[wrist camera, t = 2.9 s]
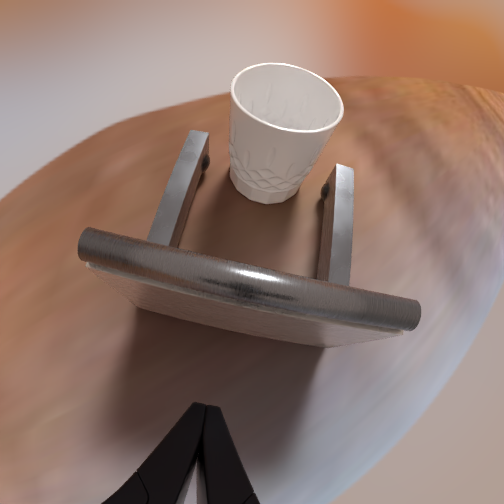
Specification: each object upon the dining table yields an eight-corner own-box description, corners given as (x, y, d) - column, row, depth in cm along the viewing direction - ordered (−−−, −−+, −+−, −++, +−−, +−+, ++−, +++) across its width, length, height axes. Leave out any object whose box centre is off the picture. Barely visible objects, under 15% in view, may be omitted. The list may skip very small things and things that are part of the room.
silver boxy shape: (326, 349, 22) (426, 332, 10) (137, 308, 21) (65, 253, 10) (341, 193, 27) (403, 103, 16) (188, 157, 26) (182, 47, 15)
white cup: (292, 140, 29) (319, 65, 20) (316, 205, 26) (361, 132, 17) (217, 146, 27) (222, 63, 18) (231, 216, 25) (243, 136, 16)
